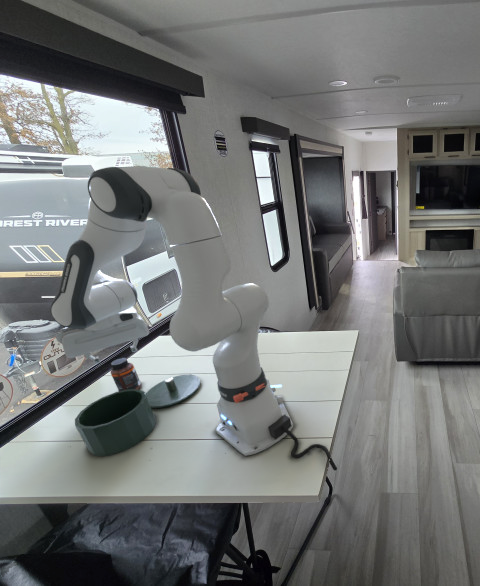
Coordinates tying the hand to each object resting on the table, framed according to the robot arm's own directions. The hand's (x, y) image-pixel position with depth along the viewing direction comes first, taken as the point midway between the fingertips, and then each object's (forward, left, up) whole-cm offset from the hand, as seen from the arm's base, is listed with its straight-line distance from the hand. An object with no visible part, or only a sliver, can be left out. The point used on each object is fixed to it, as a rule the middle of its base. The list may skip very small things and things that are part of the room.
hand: (116, 356), depth 100 cm
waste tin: (-23, +4, -13) cm, 27 cm away
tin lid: (-13, -10, -12) cm, 21 cm away
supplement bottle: (0, 0, -13) cm, 13 cm away
